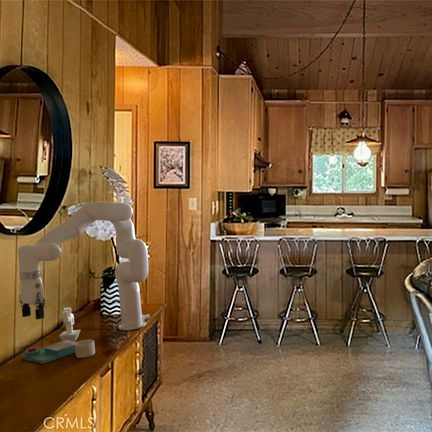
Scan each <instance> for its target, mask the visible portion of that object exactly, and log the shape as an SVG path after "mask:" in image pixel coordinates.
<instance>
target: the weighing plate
mask: <svg viewBox="0 0 432 432" xmlns="http://www.w3.org/2000/svg"><path fill="white" fill-rule="evenodd" d="M77 342H78V341H75V342H73V341H68V340H64V341H62V340H61V341H58V342H55V343H52V344H49V345H45V346H43V347H42V349H44V350H45V352H46V353H50V354H54V355H58V359H61V358H63V357H67V356H69V355H72V354H75V345H74V344H75V343H77Z"/></svg>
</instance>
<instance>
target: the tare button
mask: <svg viewBox="0 0 432 432" xmlns="http://www.w3.org/2000/svg"><path fill="white" fill-rule="evenodd" d="M37 348H38V346H36V345H34V346H29V347H28V349H27V350H28V351H29V352H34V351H37Z"/></svg>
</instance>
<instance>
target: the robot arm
mask: <svg viewBox="0 0 432 432" xmlns="http://www.w3.org/2000/svg"><path fill="white" fill-rule="evenodd" d="M133 215H134V210H133V207H132V205H130V204H129V203H127V202H121V201H120V202H119V201H104V200H97V201H96V200H95V201H88V202H85V203H84V204H83V205H82V206H80V207H79V208H78V209H77V210H76V211H75V212H73V214H72V215H71V216H69V217H68V218H67V219H65V221H63V222H62V223H61V224H59V225H57V226H56V227H54V228H53V229H51V230H49V231H47V233H45V234H44V235H43V236H42V237H41V238H39V239H38V240H37V241H36V242H35V243H34V244H25V245H20V246H19V247H18V248H17V257H18V258H17V259H18V270H19V271H18V272H19V281H20V284H19V286H20V287H19V288H20V289H19V290H20V291H19V292H20V294H19V295H18V298H19V303H20V307H21V315H22V318H27V317H30V316H31V315H32V312H31V305H34V307H35V310H34V311H35V312H34V313H35V314H34V315H35V320H41V319H44V318H45V305H46V298H45V291H44V290H45V289H44V284H43V283H44V282H43V281H42V275H41V274H42V273H41V262H53V261H56V260H58V259H59V258H60V257H61V255H62V249H61V246H60V245H62V244H64V243H66V242H68V241H71V240H73V239H75V238H78V237H80V236H82V234H83V233H85V232H86V230H87V229H89V227H91V226H92V225H93V224H94V223H95V222H96V221H107V222H110V223H111V224H112V226H113V227H114V231H115V236H116V237H115V241H116V254H117V255H118V256H119V258H121V259H125V261H121V262H119V263H118V264H117V265H116V267H115V269H114V277H115V280H116V284H117V289H118V300H119V310H120V321H121V322H120V323H121V324H119V325H118V330H120V331H133V330H138V329H141V328H143V327H145V326H146V325H147V322H146V321H145V320H147V319H150V318H151V315H150V314H149V313H148V314H145V315H144V314H143V313H142V301H141V292H140V291H141V290H140V285H139V283H143V282H144V281H146V279H147V278H148V275H149V252H148V246H147V245H146V243H145V241H143V240H142V239H140V238H136V232H135V225H134V222H133V221H132V219H131V218H132V217H133ZM126 259H128V260H126Z"/></svg>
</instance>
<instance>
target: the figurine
mask: <svg viewBox="0 0 432 432" xmlns="http://www.w3.org/2000/svg"><path fill="white" fill-rule="evenodd" d="M61 316H62V323H63V324H64V325H65V330H64V331H62V333H60V334H59V335H58V337H59V339H60V340H61V341H64V340H68V341H73V342H76V341H77V340H78V338H79V334H80V332H81V329H74V327H73V325H75V316H74V314H73V313H72V307H64V308H63V311H62V312H61Z"/></svg>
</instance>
